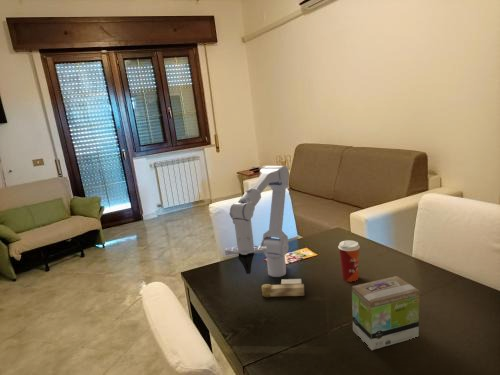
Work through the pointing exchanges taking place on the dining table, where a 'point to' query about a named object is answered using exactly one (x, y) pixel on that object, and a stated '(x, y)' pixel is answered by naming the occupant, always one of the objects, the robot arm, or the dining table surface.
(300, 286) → the leg
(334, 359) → the dining table surface
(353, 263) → the paper cup
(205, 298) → the dining table surface
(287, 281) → the block
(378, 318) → the tea box
